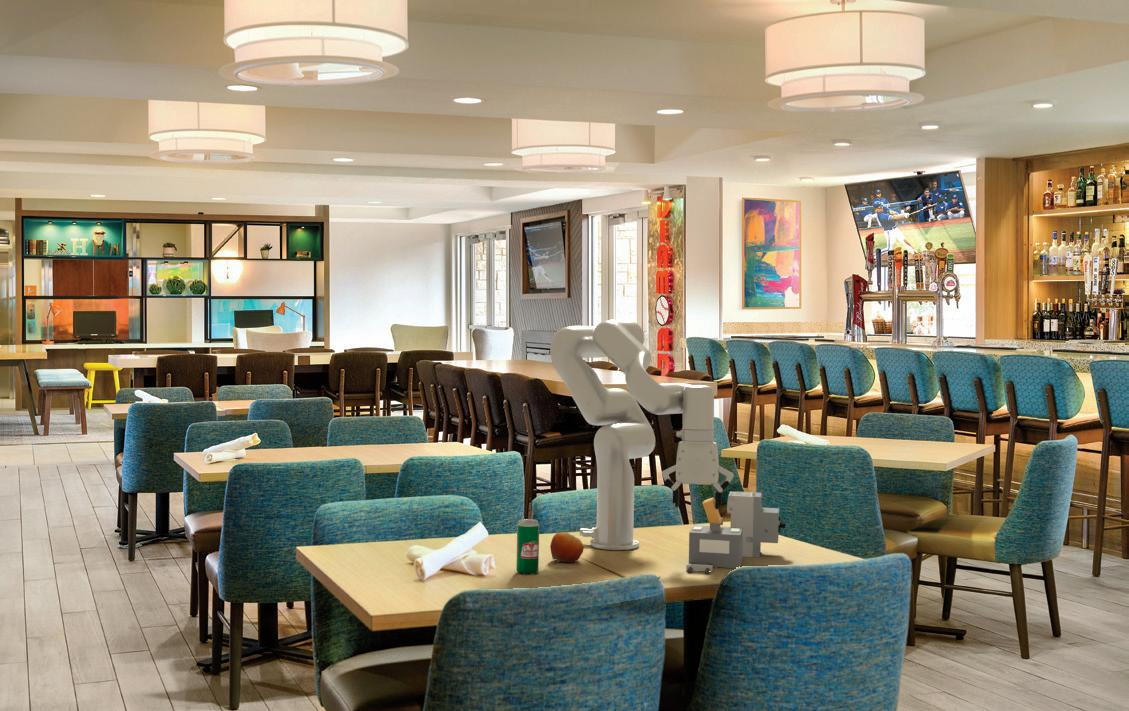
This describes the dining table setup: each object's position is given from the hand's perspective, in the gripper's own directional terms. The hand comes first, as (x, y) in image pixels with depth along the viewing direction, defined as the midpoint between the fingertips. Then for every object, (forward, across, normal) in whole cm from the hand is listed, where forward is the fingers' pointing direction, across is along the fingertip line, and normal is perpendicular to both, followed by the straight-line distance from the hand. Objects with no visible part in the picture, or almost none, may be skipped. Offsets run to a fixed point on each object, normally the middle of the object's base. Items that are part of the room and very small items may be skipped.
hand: (697, 507), depth 282 cm
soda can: (+13, -37, -22) cm, 45 cm away
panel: (+13, +5, 0) cm, 14 cm away
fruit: (+13, -30, -8) cm, 34 cm away
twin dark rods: (+13, +2, -9) cm, 16 cm away
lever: (+4, +5, 0) cm, 6 cm away
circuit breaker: (+14, +14, +14) cm, 24 cm away
